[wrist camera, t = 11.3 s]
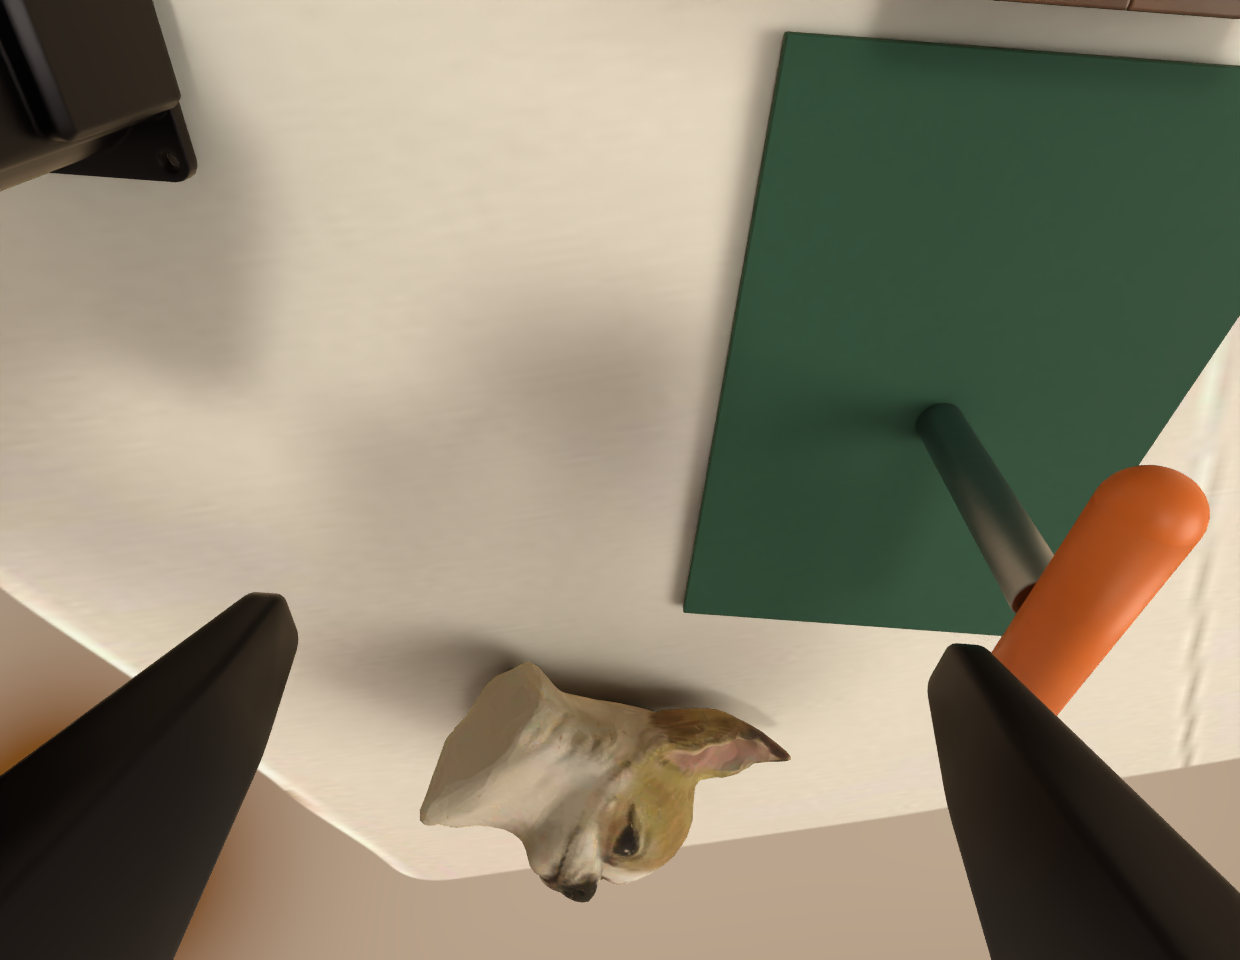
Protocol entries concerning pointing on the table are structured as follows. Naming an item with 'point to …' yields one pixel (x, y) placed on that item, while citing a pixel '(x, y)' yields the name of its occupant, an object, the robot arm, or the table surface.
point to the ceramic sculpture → (584, 777)
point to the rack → (1156, 6)
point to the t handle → (1067, 555)
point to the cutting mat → (957, 312)
